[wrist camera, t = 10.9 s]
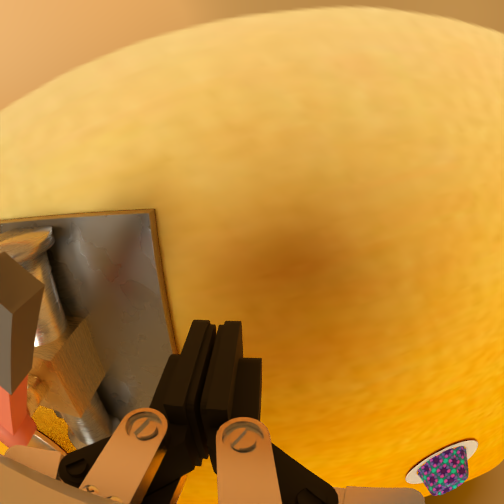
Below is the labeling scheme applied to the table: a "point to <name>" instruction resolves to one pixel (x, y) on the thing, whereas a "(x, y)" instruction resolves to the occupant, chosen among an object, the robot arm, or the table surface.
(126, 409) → the valve
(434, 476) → the pudding
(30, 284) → the lever
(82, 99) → the table surface
